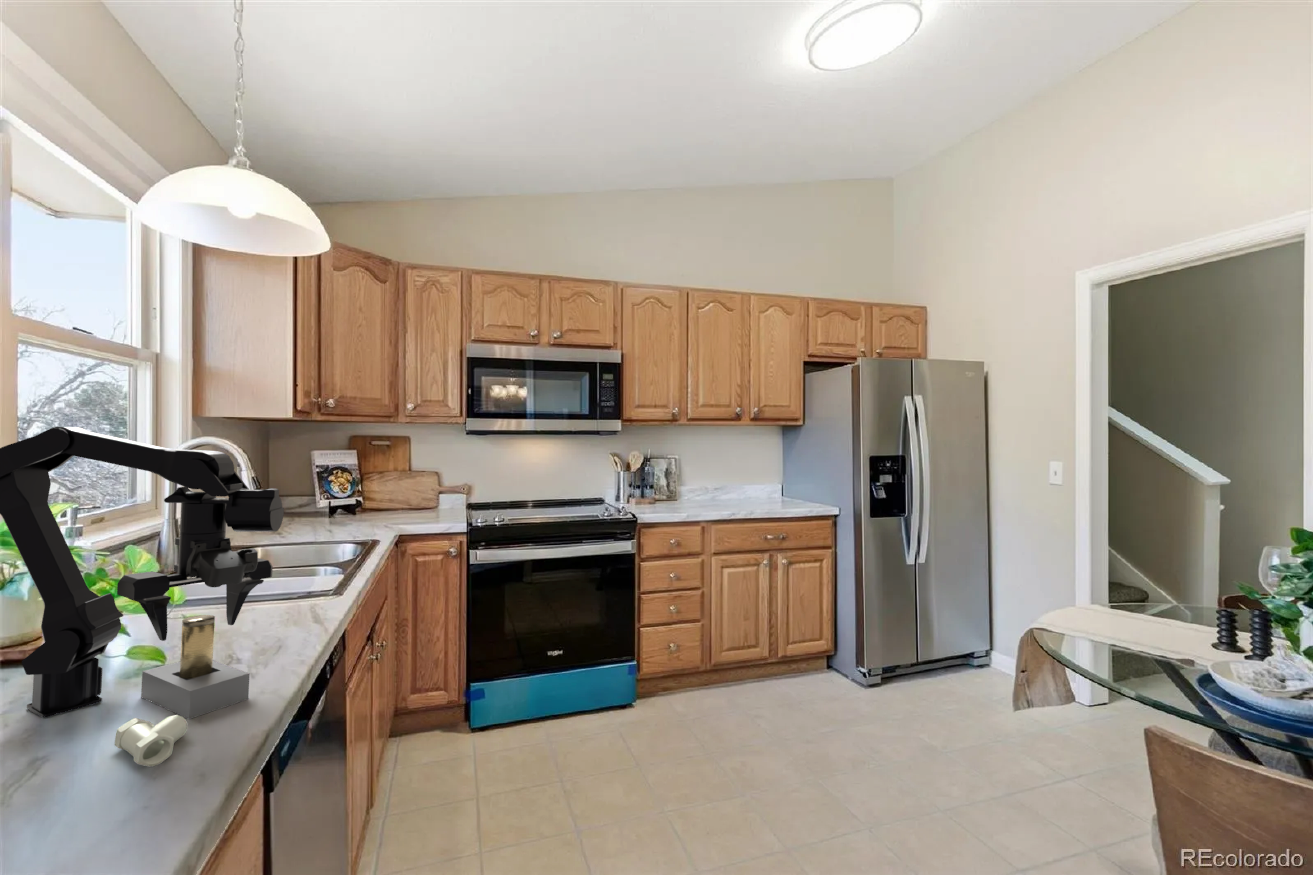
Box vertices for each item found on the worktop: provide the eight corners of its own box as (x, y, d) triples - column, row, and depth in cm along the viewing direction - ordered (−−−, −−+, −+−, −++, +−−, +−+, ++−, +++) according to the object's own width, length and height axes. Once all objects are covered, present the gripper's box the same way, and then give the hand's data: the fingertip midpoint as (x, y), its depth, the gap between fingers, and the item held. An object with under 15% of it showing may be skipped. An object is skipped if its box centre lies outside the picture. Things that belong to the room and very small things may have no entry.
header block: (188, 719, 85) (190, 691, 85) (141, 697, 92) (142, 671, 92) (248, 699, 92) (249, 673, 92) (200, 680, 99) (201, 655, 99)
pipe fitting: (176, 736, 82) (112, 752, 76) (180, 707, 82) (117, 721, 76) (202, 753, 77) (136, 772, 72) (206, 723, 78) (141, 739, 72)
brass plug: (187, 680, 89) (190, 624, 89) (174, 675, 91) (177, 619, 91) (217, 672, 93) (220, 617, 93) (203, 667, 95) (206, 613, 95)
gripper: (156, 544, 80) (150, 660, 80) (294, 530, 97) (290, 626, 97) (118, 536, 85) (112, 645, 85) (255, 524, 102) (251, 615, 102)
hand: (198, 632), depth 92 cm, fingers open, 9 cm apart
